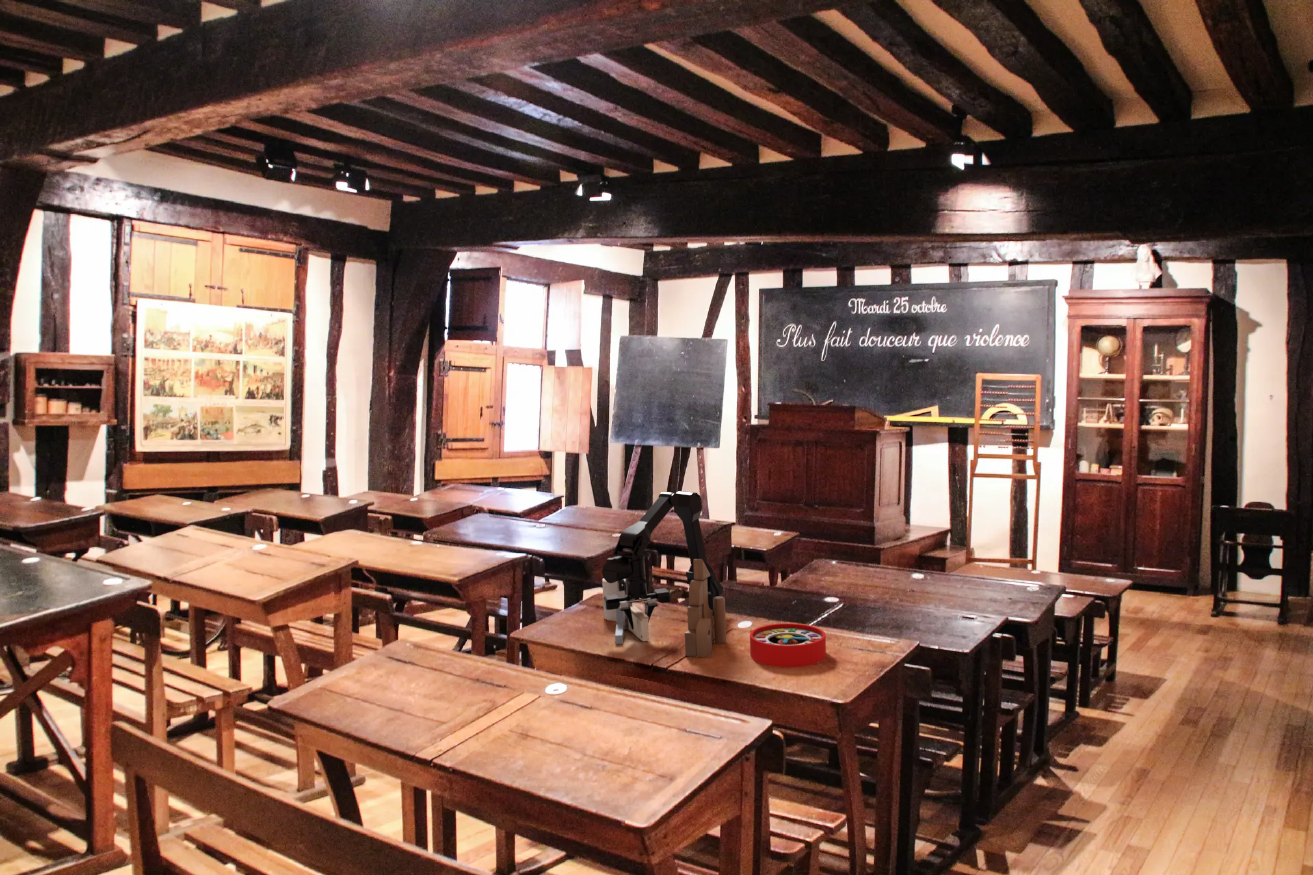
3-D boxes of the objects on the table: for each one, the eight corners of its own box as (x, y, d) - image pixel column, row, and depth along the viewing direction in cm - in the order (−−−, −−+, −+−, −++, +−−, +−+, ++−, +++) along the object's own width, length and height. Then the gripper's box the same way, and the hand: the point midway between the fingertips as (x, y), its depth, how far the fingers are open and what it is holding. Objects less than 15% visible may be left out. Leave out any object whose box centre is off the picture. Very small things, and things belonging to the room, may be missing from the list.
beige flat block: (628, 629, 287) (627, 606, 287) (635, 628, 288) (634, 605, 287) (642, 641, 275) (641, 617, 274) (649, 640, 276) (648, 616, 275)
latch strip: (624, 629, 289) (623, 602, 288) (622, 643, 275) (621, 615, 274) (617, 629, 289) (616, 603, 288) (615, 643, 275) (614, 615, 274)
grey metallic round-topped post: (635, 625, 292) (633, 592, 291) (634, 629, 288) (633, 596, 287) (623, 626, 292) (621, 593, 291) (622, 629, 288) (621, 596, 287)
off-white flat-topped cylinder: (619, 611, 308) (617, 574, 307) (635, 616, 301) (634, 578, 300) (598, 617, 303) (597, 579, 301) (614, 622, 296) (612, 583, 295)
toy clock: (758, 621, 272) (830, 625, 266) (759, 641, 273) (831, 646, 267) (742, 643, 253) (819, 648, 247) (742, 665, 254) (819, 670, 248)
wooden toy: (708, 658, 260) (705, 565, 257) (685, 655, 262) (681, 564, 260) (727, 641, 274) (724, 553, 271) (705, 639, 276) (702, 552, 274)
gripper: (661, 564, 286) (665, 616, 288) (598, 572, 283) (602, 624, 285) (669, 573, 276) (673, 626, 277) (604, 581, 272) (608, 635, 274)
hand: (639, 628), depth 279 cm, fingers open, 4 cm apart
